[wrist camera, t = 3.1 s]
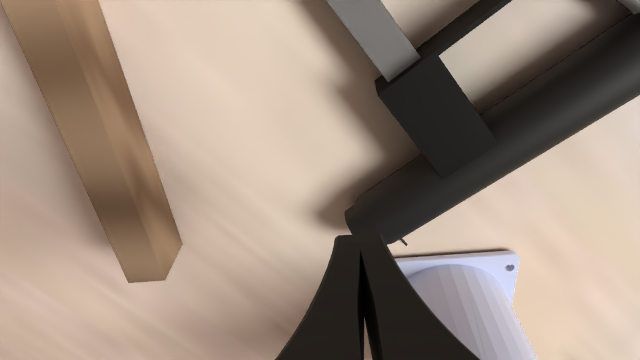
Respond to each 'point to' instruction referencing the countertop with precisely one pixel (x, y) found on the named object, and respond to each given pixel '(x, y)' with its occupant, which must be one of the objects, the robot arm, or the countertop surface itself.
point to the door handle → (463, 120)
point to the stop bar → (99, 128)
